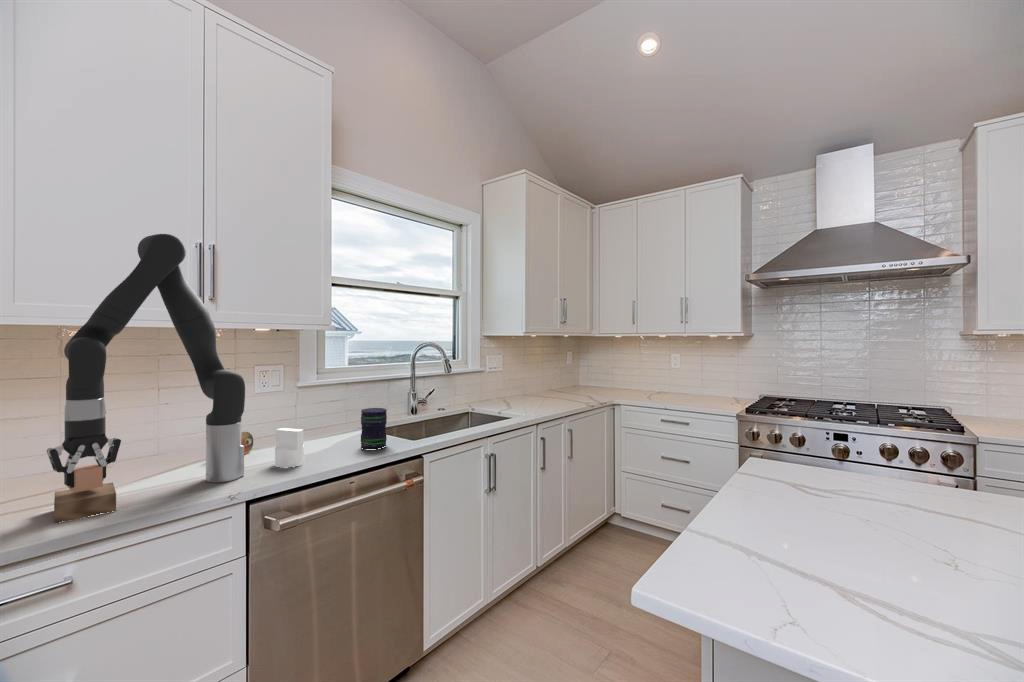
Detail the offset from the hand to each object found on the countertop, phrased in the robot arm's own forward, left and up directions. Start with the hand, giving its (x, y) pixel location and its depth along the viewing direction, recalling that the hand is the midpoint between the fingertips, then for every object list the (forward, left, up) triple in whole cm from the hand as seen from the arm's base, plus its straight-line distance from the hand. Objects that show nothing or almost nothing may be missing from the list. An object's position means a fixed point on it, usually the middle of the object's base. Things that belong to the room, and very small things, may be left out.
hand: (85, 483), depth 115 cm
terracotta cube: (0, 0, -1) cm, 1 cm away
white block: (-52, +5, -7) cm, 53 cm away
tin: (-47, -20, -7) cm, 52 cm away
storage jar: (-84, +11, -7) cm, 85 cm away
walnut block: (0, 0, -7) cm, 7 cm away
